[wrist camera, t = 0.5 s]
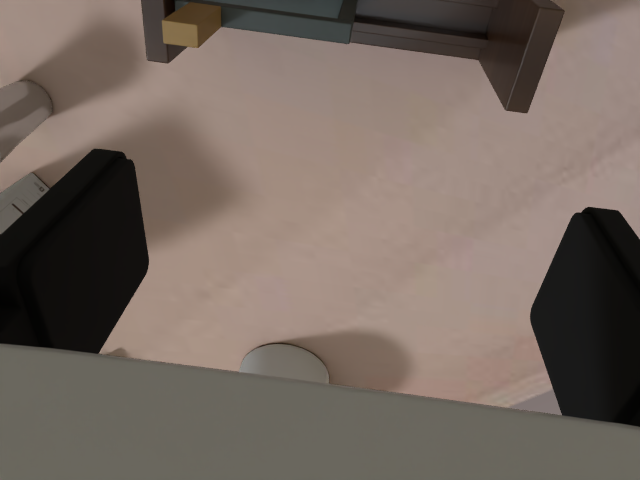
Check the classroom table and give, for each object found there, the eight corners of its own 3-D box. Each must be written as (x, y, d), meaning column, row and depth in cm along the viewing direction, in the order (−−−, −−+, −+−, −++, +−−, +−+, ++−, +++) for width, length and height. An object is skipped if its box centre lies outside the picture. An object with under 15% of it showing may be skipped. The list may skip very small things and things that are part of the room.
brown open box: (200, -67, 32) (135, -48, 23) (517, -25, 31) (565, 10, 23) (202, 17, 35) (146, 61, 26) (492, 57, 34) (527, 114, 26)
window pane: (216, -26, 32) (143, 17, 22) (358, -6, 31) (347, 45, 22) (216, -8, 32) (145, 41, 22) (355, 11, 32) (344, 68, 22)
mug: (241, 332, 52) (221, 397, 46) (340, 350, 53) (334, 417, 46) (234, 409, 60) (216, 473, 54) (320, 424, 60) (312, 490, 54)
